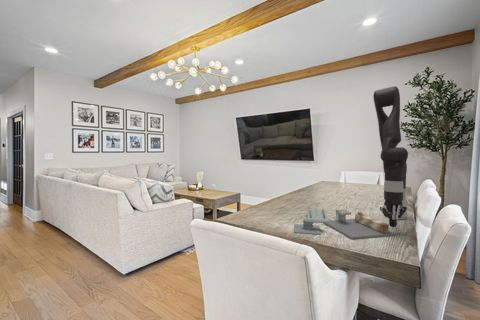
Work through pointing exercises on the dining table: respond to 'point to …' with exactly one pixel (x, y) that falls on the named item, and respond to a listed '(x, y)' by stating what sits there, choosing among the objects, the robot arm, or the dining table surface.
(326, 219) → the metal bracket
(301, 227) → the shower valve
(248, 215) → the dining table surface
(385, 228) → the brass latch lever
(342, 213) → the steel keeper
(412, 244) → the dining table surface
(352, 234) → the base plate
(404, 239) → the dining table surface
